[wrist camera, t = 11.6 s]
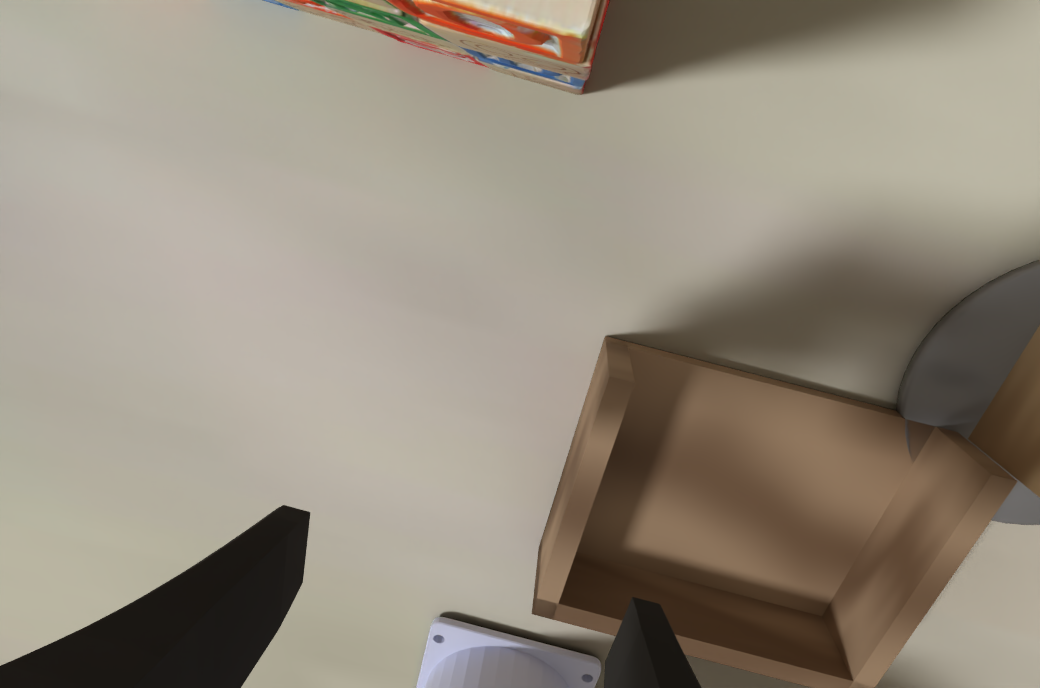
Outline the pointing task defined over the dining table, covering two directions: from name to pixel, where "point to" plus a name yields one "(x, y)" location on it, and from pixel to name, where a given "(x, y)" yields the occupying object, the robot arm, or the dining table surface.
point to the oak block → (1015, 420)
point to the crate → (758, 517)
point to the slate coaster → (975, 367)
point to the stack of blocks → (486, 32)
